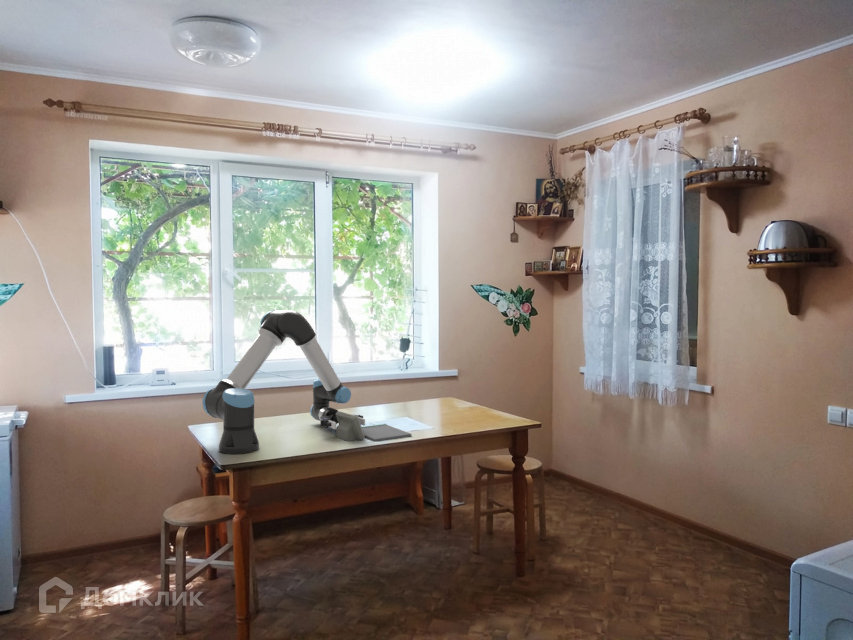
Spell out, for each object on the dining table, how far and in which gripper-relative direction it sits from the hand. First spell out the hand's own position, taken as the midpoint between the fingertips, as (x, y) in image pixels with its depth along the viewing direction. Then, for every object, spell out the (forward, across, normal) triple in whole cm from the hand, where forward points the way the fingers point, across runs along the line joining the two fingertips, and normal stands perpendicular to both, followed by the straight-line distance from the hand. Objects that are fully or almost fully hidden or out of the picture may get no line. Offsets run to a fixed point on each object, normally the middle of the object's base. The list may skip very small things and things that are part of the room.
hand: (350, 424), depth 256 cm
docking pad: (-1, -15, -6) cm, 16 cm away
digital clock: (0, 0, -6) cm, 6 cm away
